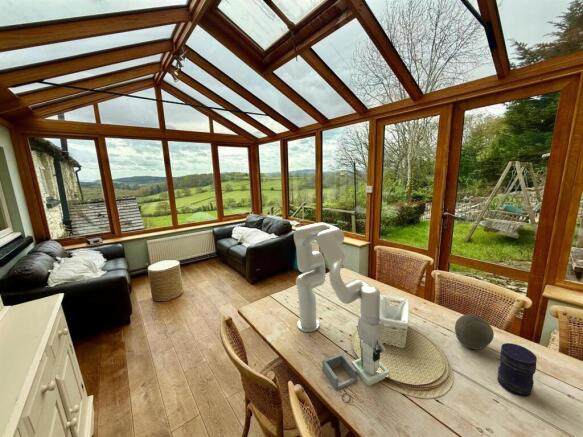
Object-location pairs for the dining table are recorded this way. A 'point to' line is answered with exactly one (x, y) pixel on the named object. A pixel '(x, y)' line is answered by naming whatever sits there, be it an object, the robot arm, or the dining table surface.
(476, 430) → the dining table surface
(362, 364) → the syrup box
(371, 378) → the tray
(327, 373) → the bay
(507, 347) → the storage jar
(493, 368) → the dining table surface
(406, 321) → the storage basket
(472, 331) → the grey oval rock
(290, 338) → the dining table surface
